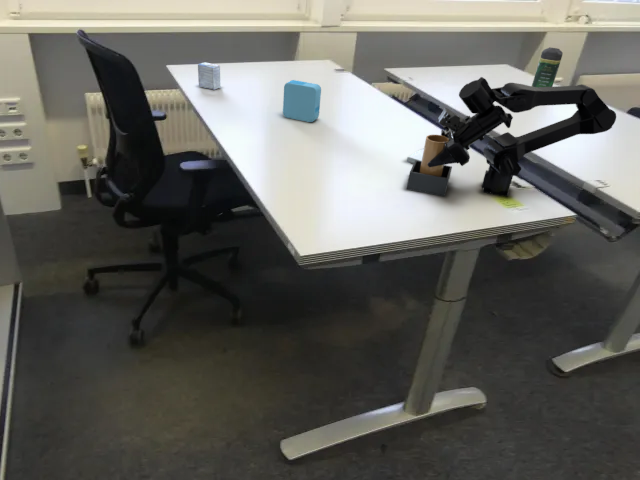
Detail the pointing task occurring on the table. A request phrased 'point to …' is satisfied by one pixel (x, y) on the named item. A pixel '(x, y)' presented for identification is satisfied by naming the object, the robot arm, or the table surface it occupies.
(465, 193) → the table surface
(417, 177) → the bin
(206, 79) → the medicine box
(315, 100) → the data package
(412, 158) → the hard drive
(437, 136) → the cup
